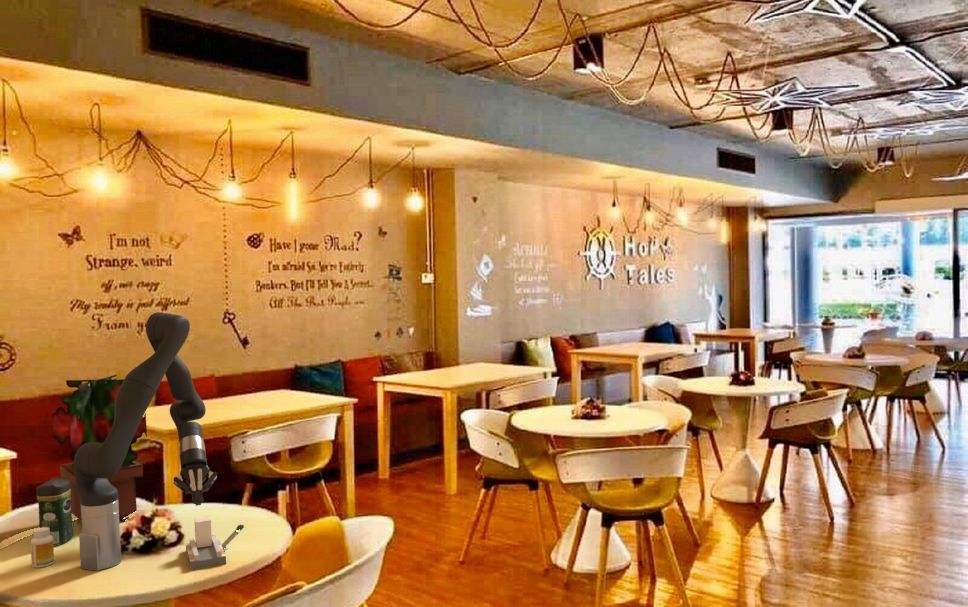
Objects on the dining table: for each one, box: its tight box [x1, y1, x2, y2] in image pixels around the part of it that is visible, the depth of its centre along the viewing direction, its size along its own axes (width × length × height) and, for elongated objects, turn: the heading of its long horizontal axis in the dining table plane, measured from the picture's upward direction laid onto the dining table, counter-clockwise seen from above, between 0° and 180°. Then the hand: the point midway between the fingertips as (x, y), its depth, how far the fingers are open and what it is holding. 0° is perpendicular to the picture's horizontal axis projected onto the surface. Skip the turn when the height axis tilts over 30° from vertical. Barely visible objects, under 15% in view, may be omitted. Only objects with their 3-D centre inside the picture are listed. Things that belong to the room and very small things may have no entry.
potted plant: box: [51, 374, 148, 523], centre depth 260 cm, size 22×22×45 cm
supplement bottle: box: [30, 527, 55, 569], centre depth 221 cm, size 5×5×10 cm
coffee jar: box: [36, 477, 75, 547], centre depth 239 cm, size 10×8×19 cm
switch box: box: [185, 534, 227, 571], centre depth 224 cm, size 16×9×4 cm, turn 24°
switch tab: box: [194, 516, 213, 548], centre depth 227 cm, size 4×4×7 cm
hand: (198, 503), depth 237 cm, fingers closed
